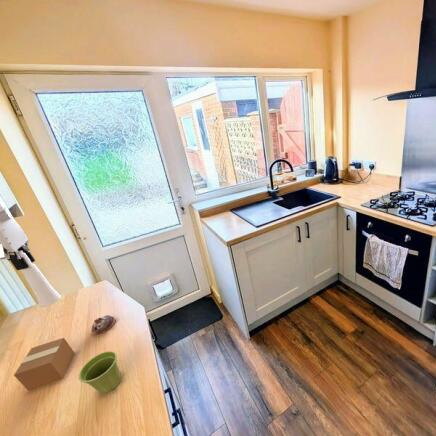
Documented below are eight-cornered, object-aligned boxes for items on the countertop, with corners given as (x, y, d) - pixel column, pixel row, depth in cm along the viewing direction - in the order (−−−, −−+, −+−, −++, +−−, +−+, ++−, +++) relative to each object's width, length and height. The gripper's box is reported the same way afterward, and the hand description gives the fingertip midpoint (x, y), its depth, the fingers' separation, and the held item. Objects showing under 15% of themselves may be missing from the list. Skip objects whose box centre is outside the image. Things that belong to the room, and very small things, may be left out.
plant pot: (84, 396, 73) (70, 378, 69) (111, 366, 81) (100, 348, 78) (108, 403, 71) (95, 384, 67) (134, 371, 79) (123, 353, 75)
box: (27, 391, 76) (12, 374, 73) (43, 363, 85) (31, 347, 82) (63, 378, 79) (50, 362, 76) (75, 352, 88) (64, 337, 84)
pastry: (92, 338, 93) (86, 328, 91) (91, 326, 98) (86, 317, 96) (117, 326, 97) (111, 316, 95) (114, 315, 103) (109, 306, 101)
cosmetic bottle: (43, 309, 89) (8, 258, 80) (37, 304, 92) (2, 254, 83) (63, 298, 93) (32, 249, 84) (57, 293, 96) (26, 246, 87)
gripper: (-5, 212, 84) (25, 257, 91) (-42, 231, 70) (-3, 282, 77) (23, 207, 86) (50, 251, 94) (-7, 224, 72) (27, 275, 80)
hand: (26, 265), depth 86 cm, fingers closed on cosmetic bottle, 3 cm apart
